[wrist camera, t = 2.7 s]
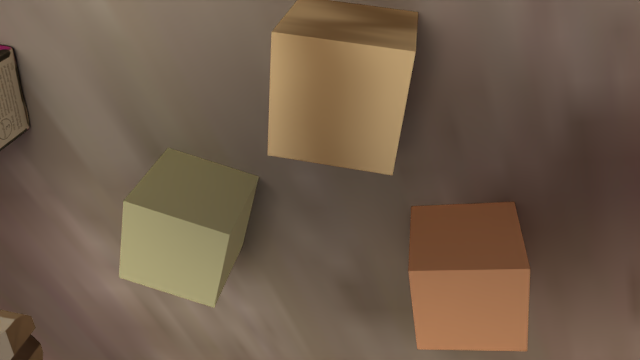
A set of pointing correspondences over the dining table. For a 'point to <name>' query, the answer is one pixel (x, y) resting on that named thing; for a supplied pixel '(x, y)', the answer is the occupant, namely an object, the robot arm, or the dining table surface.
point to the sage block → (185, 226)
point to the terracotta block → (469, 277)
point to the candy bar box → (11, 100)
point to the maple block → (340, 83)
